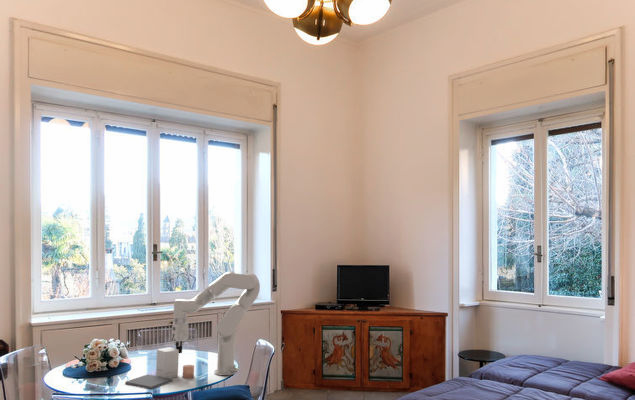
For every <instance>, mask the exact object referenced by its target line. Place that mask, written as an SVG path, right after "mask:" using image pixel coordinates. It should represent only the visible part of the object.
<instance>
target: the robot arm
mask: <svg viewBox="0 0 635 400" xmlns="http://www.w3.org/2000/svg"><path fill="white" fill-rule="evenodd" d="M229 289H236V290H237V289H238V290H243V292H242V293H241V295H240V296H239V297H238V299H236V301H234V303H233V304H232V305H231V306H230V307H229V308H228V309H227V311H226V312H225V314H224V315H223V317H222V318H221V319H219V321H218V323H217V324H216V327H215V329H216V334H217V335H218V340H217V361H216V363H217V364H216V367H217V368H216V369H215V370H214V374H215V375H217V376H221V375H228V376H232V375H236V374H237V373H239V371H240V368H239V367H236V366H237V365H236V364H235V347H236V344H235V342H236V328H237V327H238V326H239V325H240V323H241V322H242V321H243V320H244V318H245V316H246V315H247V312H248V311H249V310H250V308H251V307H252V306H253V304H254V303H255V301H256V300H257V298H258V296H259V294H260V291H261V290H260V289H261V284H260V280H259V278H258V277H257V275H256V274H254V273H252V272H249V273H246V274H244V273H235V272H234V271H232V270H231V271H230V270H229V271H226V272H225V273H223V274H222V275H220V276H219V277H217V279H215V280H213V282H211V283H209V285H208V286H207V287H206V288H205V289H204V290H202V291H201V292H199V293H198V294H197V295H196V296H195V297H193V298H192V299H186V298H176V299H175V300H174V301H173V321H172V326H171V336H170V339H171V342H172V343H171V344H173V345H174V346H175V349H178V350H179V354H182V353H183V346H184V343H185V342H186V341H187V340H188V339H189V323H188V313H191V314H193V313H196V312H198V311H199V310H200V309H202V308H203V307H204V306H206V305H207V304H208V303H211V301H213V300H214V299H217V298H218V297H220V296H221V295H222V294H223V293H225V292H227V290H229Z"/></svg>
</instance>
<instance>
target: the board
mask: <svg viewBox="0 0 635 400" xmlns="http://www.w3.org/2000/svg"><path fill="white" fill-rule="evenodd" d="M171 382H173V378H164V377H159V376H156V375H153V374H148V373H147V374H145V375H142V376H138V377H136V378H135V377H134V378H132V379H130V380H127V381H125V385H128V386H133V387H138V386H139V388H143V387H144V389H148V390H152V389H155V388H158V387H160V386H163V385H166V384H168V383H171Z"/></svg>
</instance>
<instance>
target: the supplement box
mask: <svg viewBox="0 0 635 400" xmlns="http://www.w3.org/2000/svg"><path fill="white" fill-rule="evenodd" d="M179 354H180V353H179V350H178V349H176V347H175V348H174V347H170V346H169V347H163V348H157V349H156V363H155V365H156V366H155V367H156V368H155V370H156V371H155V376H159V377H164V378H170V379H173V378H176V377H177V378H178V376H179V357H180V355H179Z"/></svg>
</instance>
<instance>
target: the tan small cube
mask: <svg viewBox="0 0 635 400" xmlns="http://www.w3.org/2000/svg"><path fill="white" fill-rule="evenodd" d="M182 378H183V379H186V380H188V379H193V378H195V365H194V364H185V365H182Z"/></svg>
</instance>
